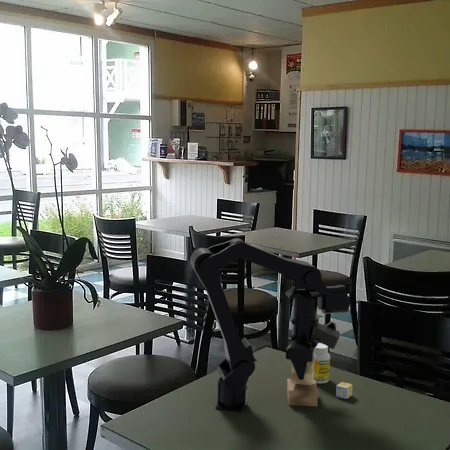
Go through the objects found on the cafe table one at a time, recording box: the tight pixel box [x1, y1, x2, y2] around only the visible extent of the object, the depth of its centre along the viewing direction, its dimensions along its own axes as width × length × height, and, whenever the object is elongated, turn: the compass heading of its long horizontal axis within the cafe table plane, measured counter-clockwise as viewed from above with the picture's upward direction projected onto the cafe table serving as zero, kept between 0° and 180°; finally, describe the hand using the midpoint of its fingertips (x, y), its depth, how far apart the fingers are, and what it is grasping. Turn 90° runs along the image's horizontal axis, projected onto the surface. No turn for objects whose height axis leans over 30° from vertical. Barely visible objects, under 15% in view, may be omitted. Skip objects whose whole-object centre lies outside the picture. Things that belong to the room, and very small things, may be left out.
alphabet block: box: [335, 381, 353, 400], centre depth 145 cm, size 3×3×3 cm
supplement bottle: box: [314, 342, 331, 384], centre depth 154 cm, size 5×5×10 cm
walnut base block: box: [286, 378, 319, 407], centre depth 143 cm, size 7×7×4 cm
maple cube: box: [290, 358, 315, 385], centre depth 142 cm, size 5×5×5 cm
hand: (302, 375), depth 142 cm, fingers closed on maple cube, 5 cm apart
